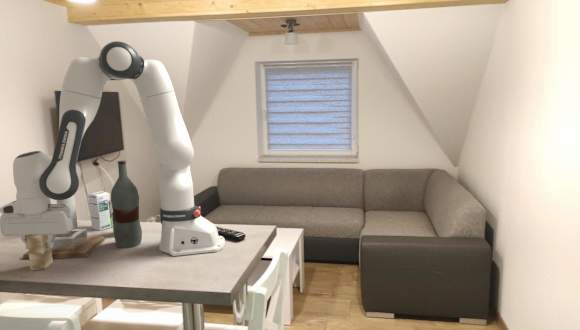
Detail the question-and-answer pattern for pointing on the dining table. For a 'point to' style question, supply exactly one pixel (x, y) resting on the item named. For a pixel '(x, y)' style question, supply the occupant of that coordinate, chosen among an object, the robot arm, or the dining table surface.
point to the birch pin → (39, 252)
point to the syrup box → (100, 210)
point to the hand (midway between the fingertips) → (39, 247)
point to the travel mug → (71, 204)
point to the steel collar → (69, 240)
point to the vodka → (125, 210)
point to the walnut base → (77, 249)
